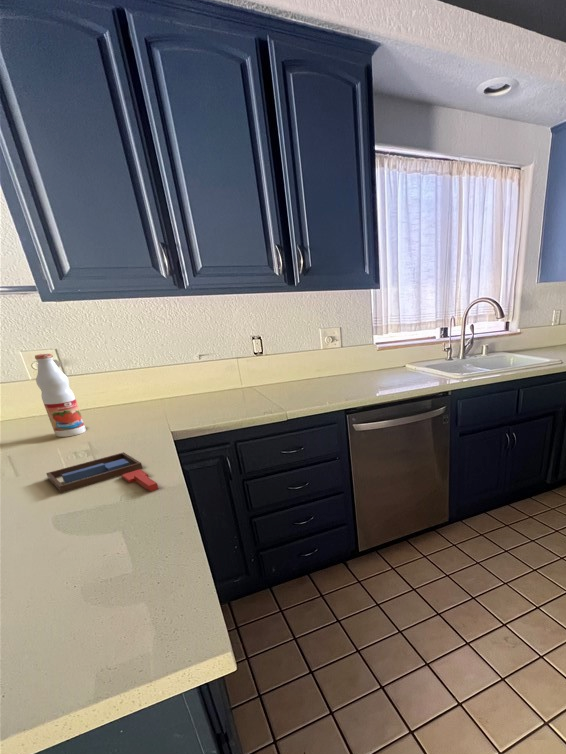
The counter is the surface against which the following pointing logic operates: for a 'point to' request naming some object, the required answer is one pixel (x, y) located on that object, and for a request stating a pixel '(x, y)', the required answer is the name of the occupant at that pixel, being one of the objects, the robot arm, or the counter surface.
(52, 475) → the tray
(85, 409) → the counter surface
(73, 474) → the blue stepped block
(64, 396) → the fruit juice
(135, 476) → the red t-shaped block
